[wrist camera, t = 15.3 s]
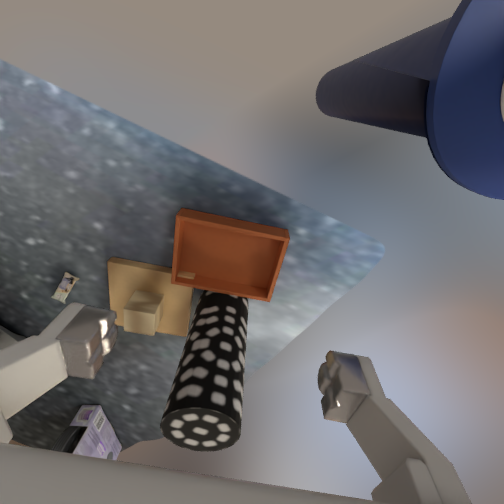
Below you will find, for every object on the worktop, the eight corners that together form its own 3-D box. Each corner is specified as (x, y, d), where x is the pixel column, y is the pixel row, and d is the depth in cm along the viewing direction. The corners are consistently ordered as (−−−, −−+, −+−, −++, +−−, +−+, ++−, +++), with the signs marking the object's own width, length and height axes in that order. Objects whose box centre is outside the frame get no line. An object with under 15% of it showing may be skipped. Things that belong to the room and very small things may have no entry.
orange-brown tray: (288, 229, 38) (289, 238, 36) (269, 290, 44) (269, 302, 41) (181, 207, 37) (175, 215, 34) (175, 273, 42) (170, 283, 40)
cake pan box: (78, 400, 60) (15, 503, 45) (99, 401, 60) (44, 504, 45) (104, 445, 70) (60, 542, 54) (123, 445, 69) (84, 543, 54)
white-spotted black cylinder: (191, 311, 46) (149, 438, 29) (211, 276, 42) (176, 397, 25) (235, 328, 48) (220, 458, 30) (257, 296, 44) (254, 423, 27)
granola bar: (66, 302, 46) (62, 306, 45) (53, 295, 45) (48, 299, 44) (81, 277, 43) (77, 280, 42) (67, 269, 42) (62, 272, 41)
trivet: (195, 272, 42) (193, 277, 41) (188, 330, 48) (186, 337, 47) (111, 256, 41) (107, 261, 40) (115, 318, 47) (111, 324, 46)
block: (164, 294, 43) (154, 314, 39) (163, 315, 45) (153, 336, 41) (135, 289, 42) (123, 308, 38) (135, 310, 44) (123, 330, 41)
